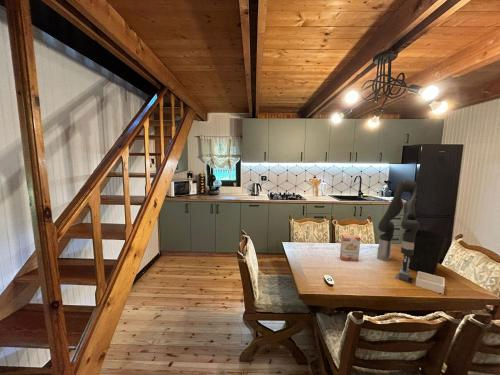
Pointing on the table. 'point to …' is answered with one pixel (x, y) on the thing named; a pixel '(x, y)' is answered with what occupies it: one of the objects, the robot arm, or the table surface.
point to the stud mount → (404, 280)
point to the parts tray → (430, 282)
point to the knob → (404, 273)
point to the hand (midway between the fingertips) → (404, 269)
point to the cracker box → (350, 247)
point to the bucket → (426, 251)
